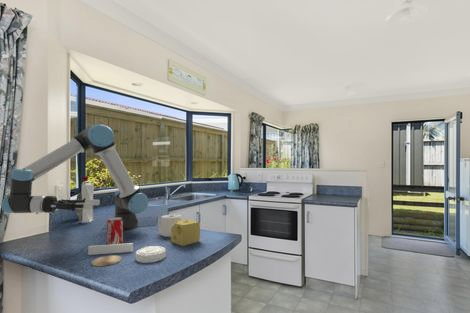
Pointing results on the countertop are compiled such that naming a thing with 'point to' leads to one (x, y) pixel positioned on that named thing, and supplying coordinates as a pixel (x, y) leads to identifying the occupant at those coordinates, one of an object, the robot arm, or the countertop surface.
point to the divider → (110, 248)
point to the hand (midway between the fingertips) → (96, 204)
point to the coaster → (106, 261)
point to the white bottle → (88, 194)
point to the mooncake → (150, 254)
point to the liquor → (81, 196)
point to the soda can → (115, 231)
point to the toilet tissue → (167, 224)
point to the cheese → (185, 232)
